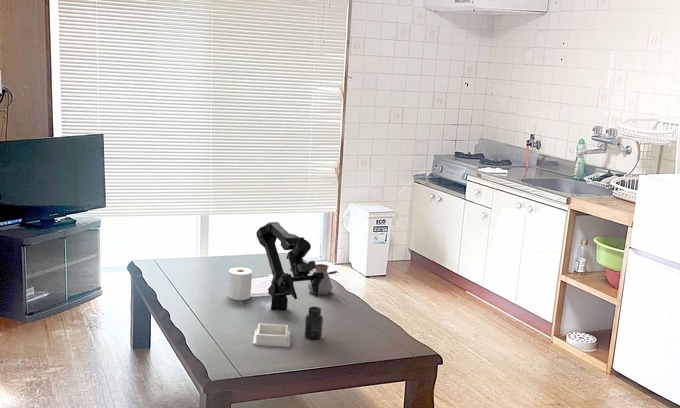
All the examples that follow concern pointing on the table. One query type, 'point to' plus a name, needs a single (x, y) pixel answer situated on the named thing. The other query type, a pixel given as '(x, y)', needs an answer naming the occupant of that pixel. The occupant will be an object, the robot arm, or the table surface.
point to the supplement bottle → (313, 324)
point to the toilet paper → (239, 283)
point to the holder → (272, 335)
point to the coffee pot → (325, 284)
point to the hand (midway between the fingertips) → (306, 297)
